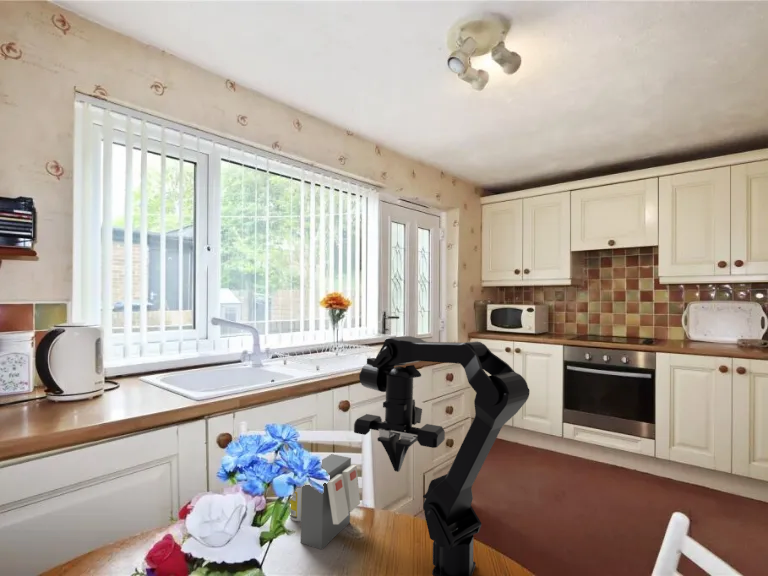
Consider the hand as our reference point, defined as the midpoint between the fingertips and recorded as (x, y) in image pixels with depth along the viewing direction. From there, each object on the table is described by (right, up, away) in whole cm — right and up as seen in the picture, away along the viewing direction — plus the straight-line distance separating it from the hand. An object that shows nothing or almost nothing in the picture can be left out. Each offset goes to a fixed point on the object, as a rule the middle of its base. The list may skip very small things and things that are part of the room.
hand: (397, 470), depth 87 cm
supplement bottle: (-21, -13, +6) cm, 26 cm away
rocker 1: (-11, -8, -5) cm, 14 cm away
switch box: (-15, -13, 0) cm, 20 cm away
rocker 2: (-9, -8, 0) cm, 12 cm away
